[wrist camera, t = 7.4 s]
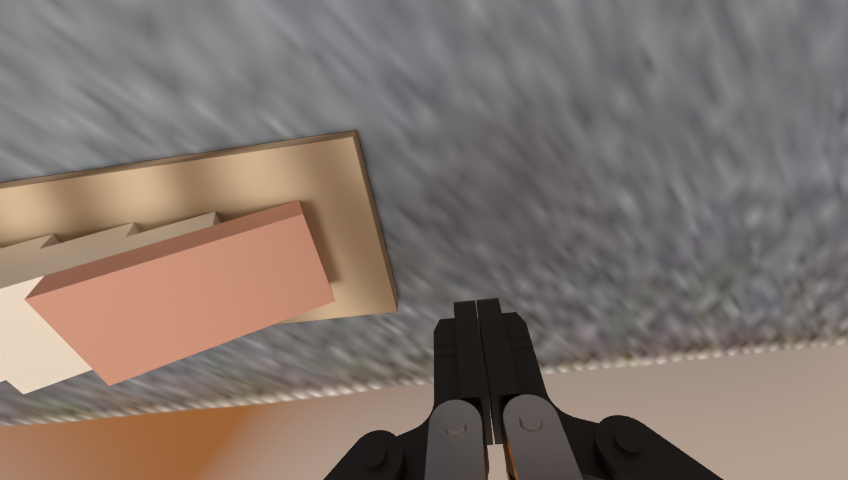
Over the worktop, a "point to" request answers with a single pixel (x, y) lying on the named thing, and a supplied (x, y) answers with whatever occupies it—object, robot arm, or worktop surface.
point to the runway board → (227, 206)
